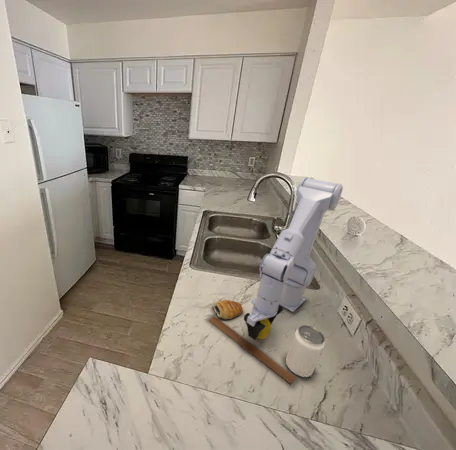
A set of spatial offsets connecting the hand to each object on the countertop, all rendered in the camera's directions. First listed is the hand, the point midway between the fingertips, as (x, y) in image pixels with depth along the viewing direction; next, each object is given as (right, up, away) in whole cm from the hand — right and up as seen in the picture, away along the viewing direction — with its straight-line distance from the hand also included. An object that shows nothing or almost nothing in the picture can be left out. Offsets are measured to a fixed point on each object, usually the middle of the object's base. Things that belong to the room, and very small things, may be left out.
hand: (259, 330), depth 75 cm
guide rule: (-4, -4, -2) cm, 6 cm away
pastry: (-7, +2, +10) cm, 12 cm away
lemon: (0, -3, +1) cm, 3 cm away
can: (+8, -7, -7) cm, 12 cm away
